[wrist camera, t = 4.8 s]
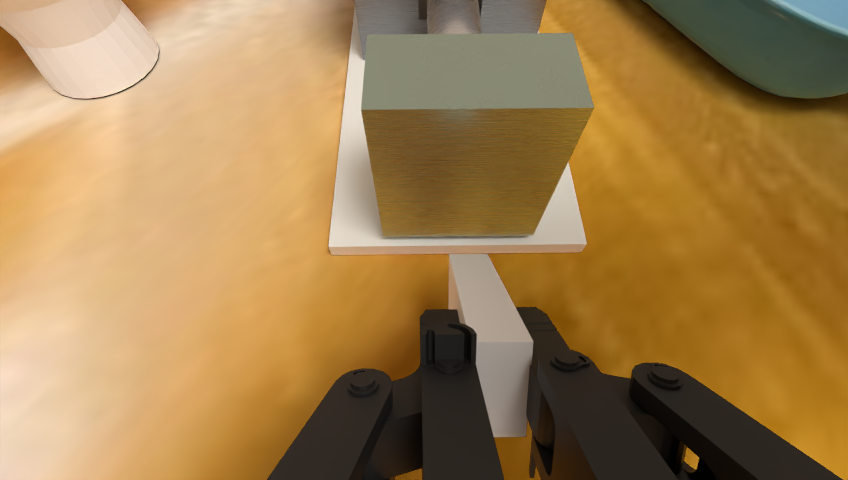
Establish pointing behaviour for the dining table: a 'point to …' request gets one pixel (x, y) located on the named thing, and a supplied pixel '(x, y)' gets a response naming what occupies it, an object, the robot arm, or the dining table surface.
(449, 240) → the base board
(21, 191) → the dining table surface
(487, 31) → the bearing block
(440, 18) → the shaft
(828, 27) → the casserole dish
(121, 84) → the cup
